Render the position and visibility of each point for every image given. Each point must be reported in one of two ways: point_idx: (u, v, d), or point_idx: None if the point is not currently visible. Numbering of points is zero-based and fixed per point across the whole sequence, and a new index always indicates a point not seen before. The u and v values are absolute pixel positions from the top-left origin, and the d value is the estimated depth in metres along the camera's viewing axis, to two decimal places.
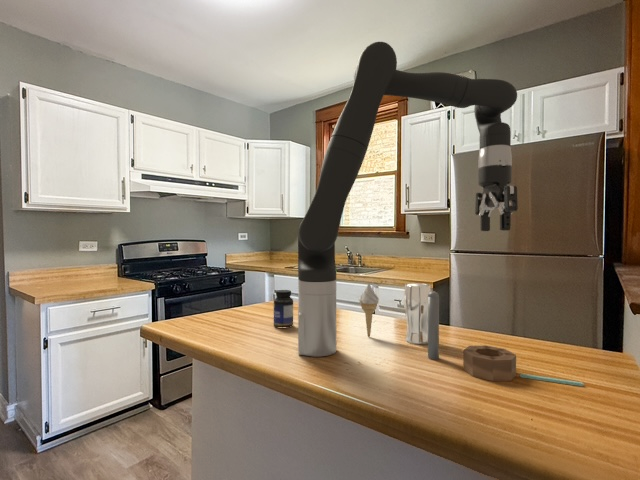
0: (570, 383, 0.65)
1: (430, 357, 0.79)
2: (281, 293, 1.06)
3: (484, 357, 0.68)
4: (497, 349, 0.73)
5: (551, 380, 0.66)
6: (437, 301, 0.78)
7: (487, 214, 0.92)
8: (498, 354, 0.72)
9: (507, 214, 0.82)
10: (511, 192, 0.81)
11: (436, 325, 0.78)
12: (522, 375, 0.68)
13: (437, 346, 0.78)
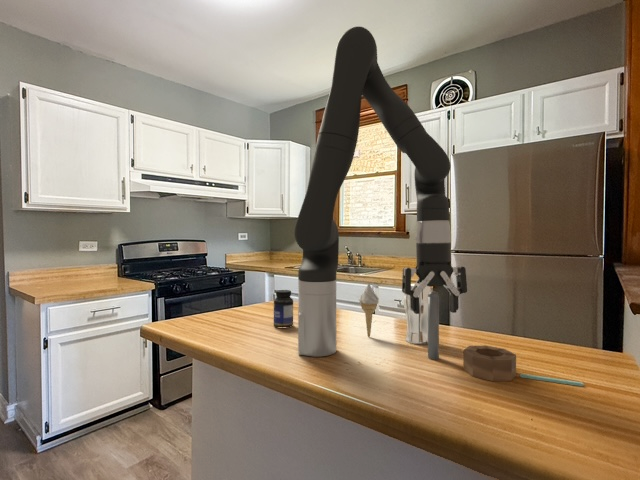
0: (570, 383, 0.65)
1: (430, 357, 0.79)
2: (281, 293, 1.06)
3: (484, 357, 0.68)
4: (497, 349, 0.73)
5: (551, 380, 0.66)
6: (437, 301, 0.78)
7: None
8: (498, 354, 0.72)
9: None
10: None
11: (436, 325, 0.78)
12: (522, 375, 0.68)
13: (437, 346, 0.78)
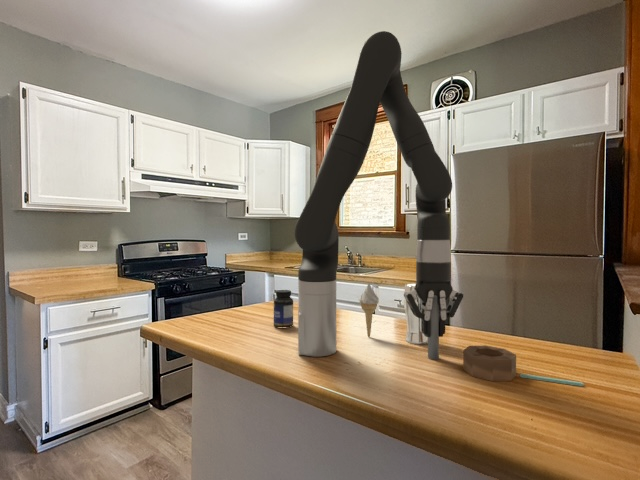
0: (570, 383, 0.65)
1: (430, 357, 0.79)
2: (281, 293, 1.06)
3: (484, 357, 0.68)
4: (497, 349, 0.73)
5: (551, 380, 0.66)
6: None
7: None
8: (498, 354, 0.72)
9: None
10: None
11: (436, 325, 0.78)
12: (522, 375, 0.68)
13: (437, 346, 0.78)
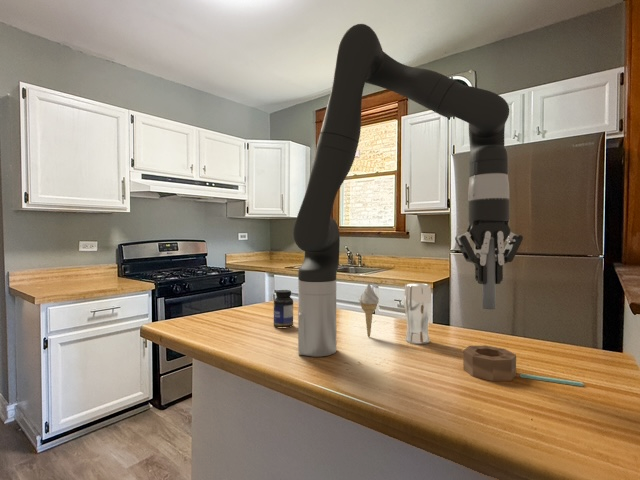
0: (570, 383, 0.65)
1: (486, 307, 0.70)
2: (281, 293, 1.06)
3: (484, 357, 0.68)
4: (497, 349, 0.73)
5: (551, 380, 0.66)
6: None
7: None
8: (498, 354, 0.72)
9: None
10: None
11: (493, 271, 0.70)
12: (522, 375, 0.68)
13: (494, 294, 0.70)
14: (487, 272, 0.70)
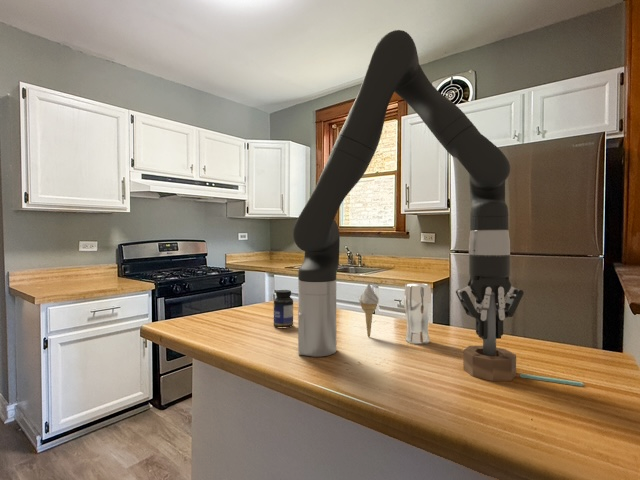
0: (570, 383, 0.65)
1: None
2: (281, 293, 1.06)
3: (484, 357, 0.68)
4: (497, 349, 0.73)
5: (551, 380, 0.66)
6: (494, 298, 0.70)
7: None
8: (498, 354, 0.72)
9: None
10: None
11: (494, 326, 0.70)
12: (522, 375, 0.68)
13: (495, 349, 0.70)
14: (488, 327, 0.70)
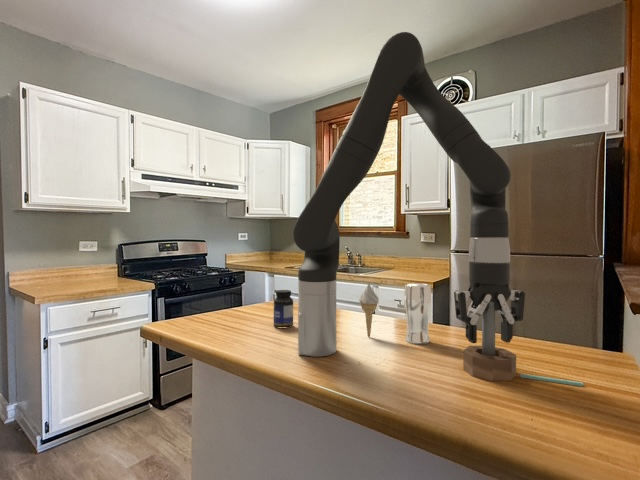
0: (570, 383, 0.65)
1: None
2: (281, 293, 1.06)
3: (484, 357, 0.68)
4: (497, 349, 0.73)
5: (551, 380, 0.66)
6: (493, 308, 0.70)
7: None
8: (498, 354, 0.72)
9: None
10: None
11: (493, 336, 0.70)
12: (522, 375, 0.68)
13: None
14: (487, 337, 0.70)
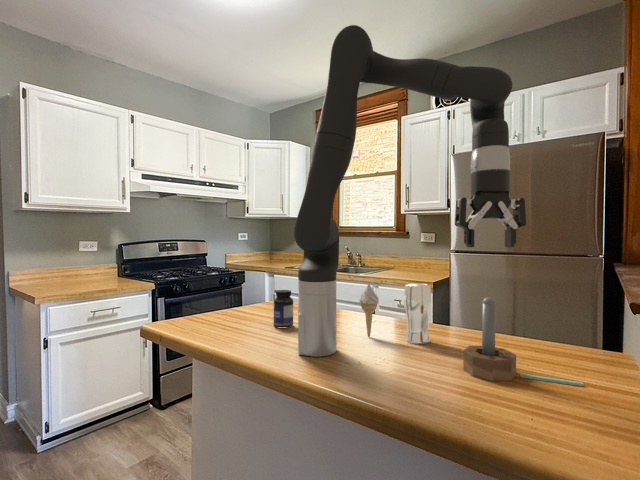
0: (570, 383, 0.65)
1: None
2: (281, 293, 1.06)
3: (484, 357, 0.68)
4: (497, 349, 0.73)
5: (551, 380, 0.66)
6: (494, 308, 0.70)
7: None
8: (498, 354, 0.72)
9: None
10: None
11: (493, 336, 0.70)
12: (522, 375, 0.68)
13: None
14: (487, 337, 0.70)
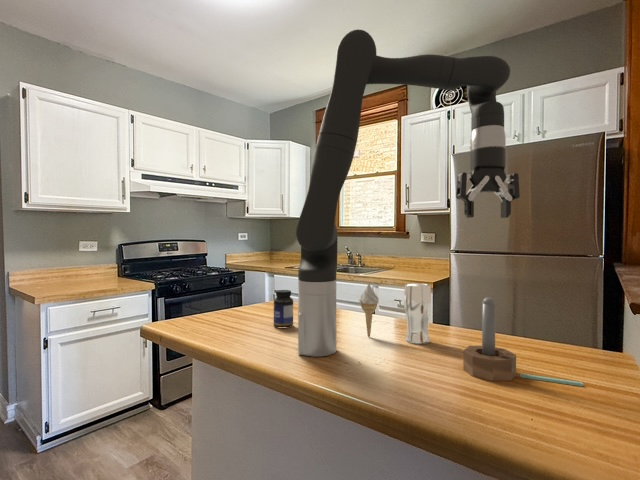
0: (570, 383, 0.65)
1: None
2: (281, 293, 1.06)
3: (484, 357, 0.68)
4: (497, 349, 0.73)
5: (551, 380, 0.66)
6: (494, 308, 0.70)
7: None
8: (498, 354, 0.72)
9: None
10: None
11: (493, 336, 0.70)
12: (522, 375, 0.68)
13: None
14: (487, 337, 0.70)
